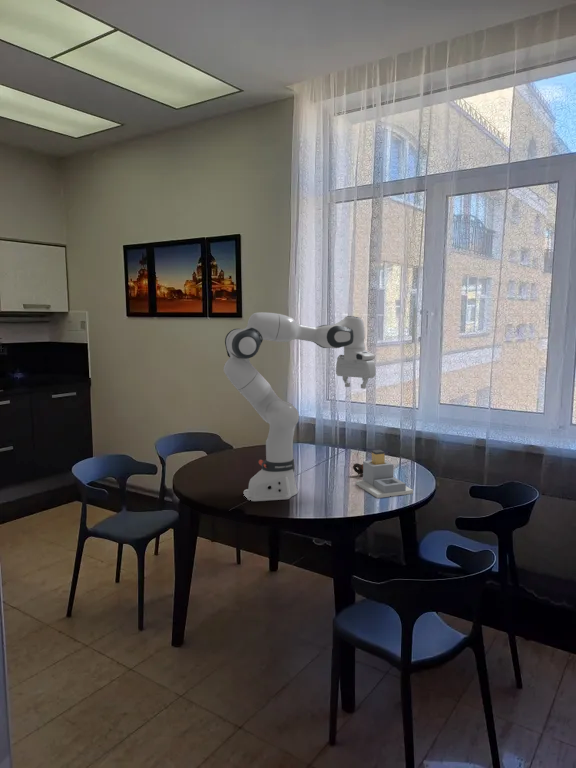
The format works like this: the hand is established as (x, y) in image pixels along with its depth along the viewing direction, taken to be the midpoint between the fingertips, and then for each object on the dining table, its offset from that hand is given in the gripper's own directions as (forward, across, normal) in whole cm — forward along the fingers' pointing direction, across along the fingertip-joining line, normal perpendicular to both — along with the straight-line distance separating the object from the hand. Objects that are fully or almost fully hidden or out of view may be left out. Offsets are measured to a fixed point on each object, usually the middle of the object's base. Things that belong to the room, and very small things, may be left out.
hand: (355, 387), depth 223 cm
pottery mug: (+43, -6, +12) cm, 45 cm away
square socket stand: (+42, +11, +4) cm, 44 cm away
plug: (+35, +7, +6) cm, 36 cm away
